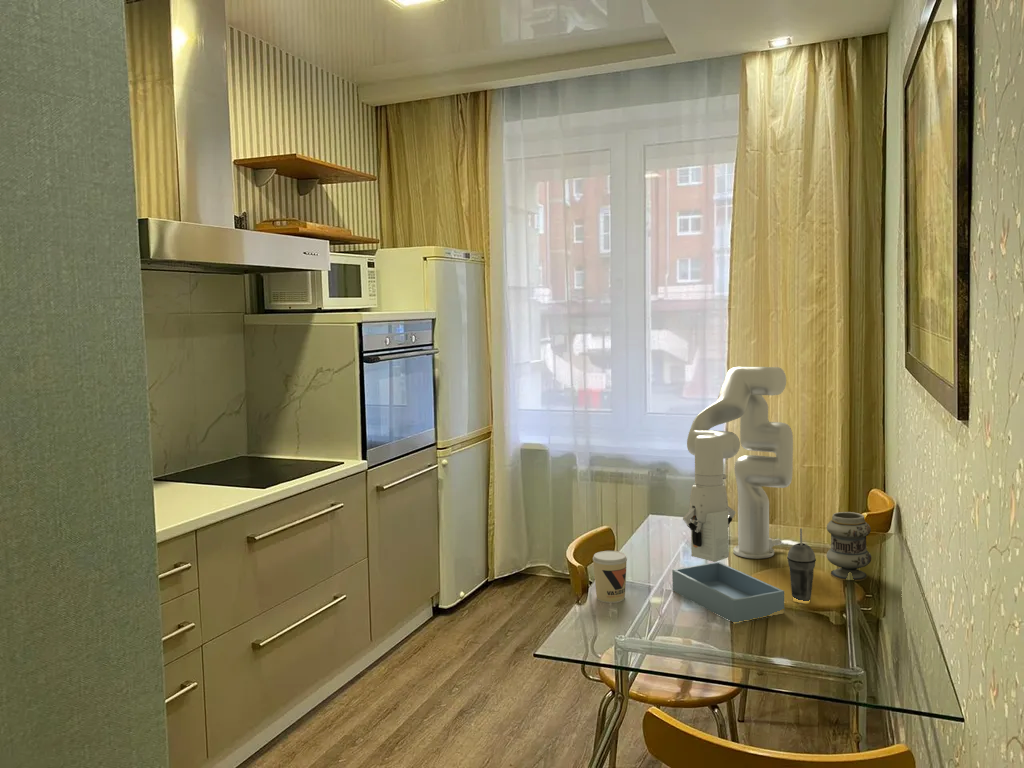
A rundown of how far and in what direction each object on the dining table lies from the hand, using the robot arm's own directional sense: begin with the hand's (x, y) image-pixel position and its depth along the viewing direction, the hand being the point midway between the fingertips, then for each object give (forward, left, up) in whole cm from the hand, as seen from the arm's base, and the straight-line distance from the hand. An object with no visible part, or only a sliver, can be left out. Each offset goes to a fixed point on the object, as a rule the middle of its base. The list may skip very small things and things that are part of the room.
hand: (709, 543), depth 223 cm
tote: (0, +7, -14) cm, 16 cm away
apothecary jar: (-44, +5, -15) cm, 47 cm away
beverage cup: (-18, +15, -14) cm, 28 cm away
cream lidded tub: (+26, -10, -15) cm, 31 cm away
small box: (0, 0, -4) cm, 4 cm away
